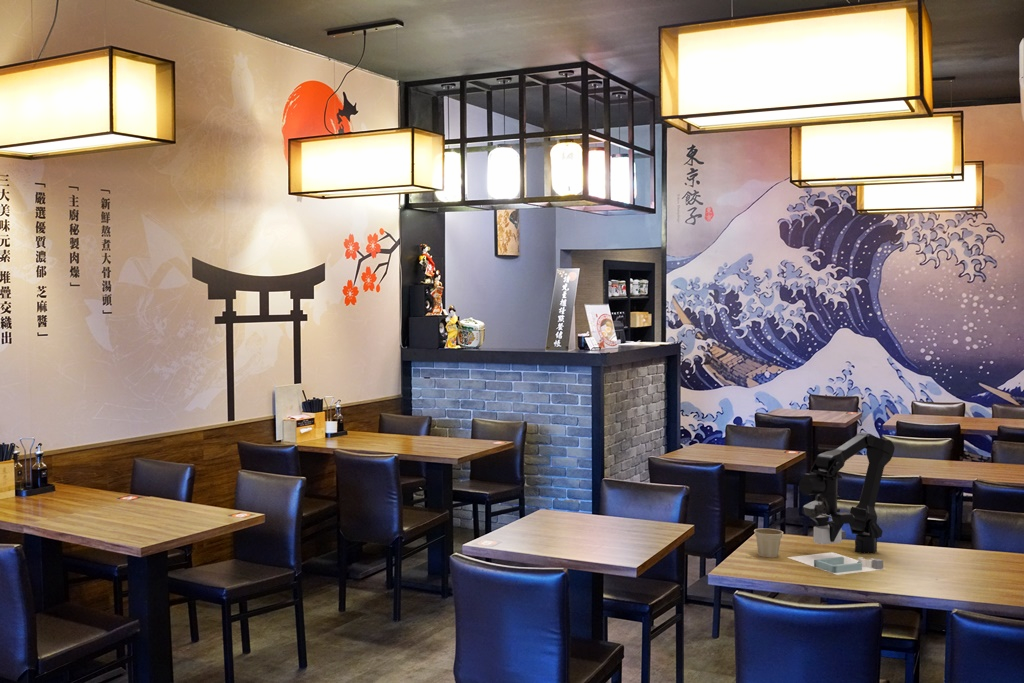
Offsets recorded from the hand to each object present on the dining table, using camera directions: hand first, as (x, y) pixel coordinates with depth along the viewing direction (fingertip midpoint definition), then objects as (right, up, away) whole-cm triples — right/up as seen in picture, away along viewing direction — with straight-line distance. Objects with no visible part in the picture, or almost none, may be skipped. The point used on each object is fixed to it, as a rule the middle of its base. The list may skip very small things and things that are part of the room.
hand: (827, 540), depth 304 cm
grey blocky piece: (+9, -6, -12) cm, 16 cm away
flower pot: (-18, -7, +3) cm, 20 cm away
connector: (+1, -1, 0) cm, 1 cm away
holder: (-1, -6, -13) cm, 15 cm away
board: (0, -7, -7) cm, 10 cm away
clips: (+9, -6, -11) cm, 15 cm away
